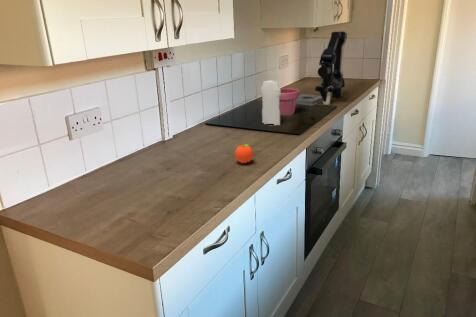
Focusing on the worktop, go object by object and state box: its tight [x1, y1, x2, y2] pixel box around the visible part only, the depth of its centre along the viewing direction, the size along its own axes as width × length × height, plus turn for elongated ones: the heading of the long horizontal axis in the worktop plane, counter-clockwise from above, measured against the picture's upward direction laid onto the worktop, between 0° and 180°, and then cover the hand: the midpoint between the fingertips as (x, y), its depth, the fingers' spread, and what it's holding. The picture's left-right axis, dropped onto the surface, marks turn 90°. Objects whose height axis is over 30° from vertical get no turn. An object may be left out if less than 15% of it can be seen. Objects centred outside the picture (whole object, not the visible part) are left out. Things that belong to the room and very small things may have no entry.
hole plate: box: [296, 93, 323, 107], centre depth 245 cm, size 16×16×3 cm
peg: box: [322, 92, 331, 106], centre depth 236 cm, size 4×4×7 cm
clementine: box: [234, 144, 254, 164], centre depth 152 cm, size 8×7×7 cm
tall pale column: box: [260, 79, 282, 126], centre depth 198 cm, size 11×4×22 cm, turn 61°
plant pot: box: [279, 88, 300, 116], centre depth 218 cm, size 14×14×13 cm
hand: (326, 100), depth 237 cm, fingers closed on peg, 4 cm apart
